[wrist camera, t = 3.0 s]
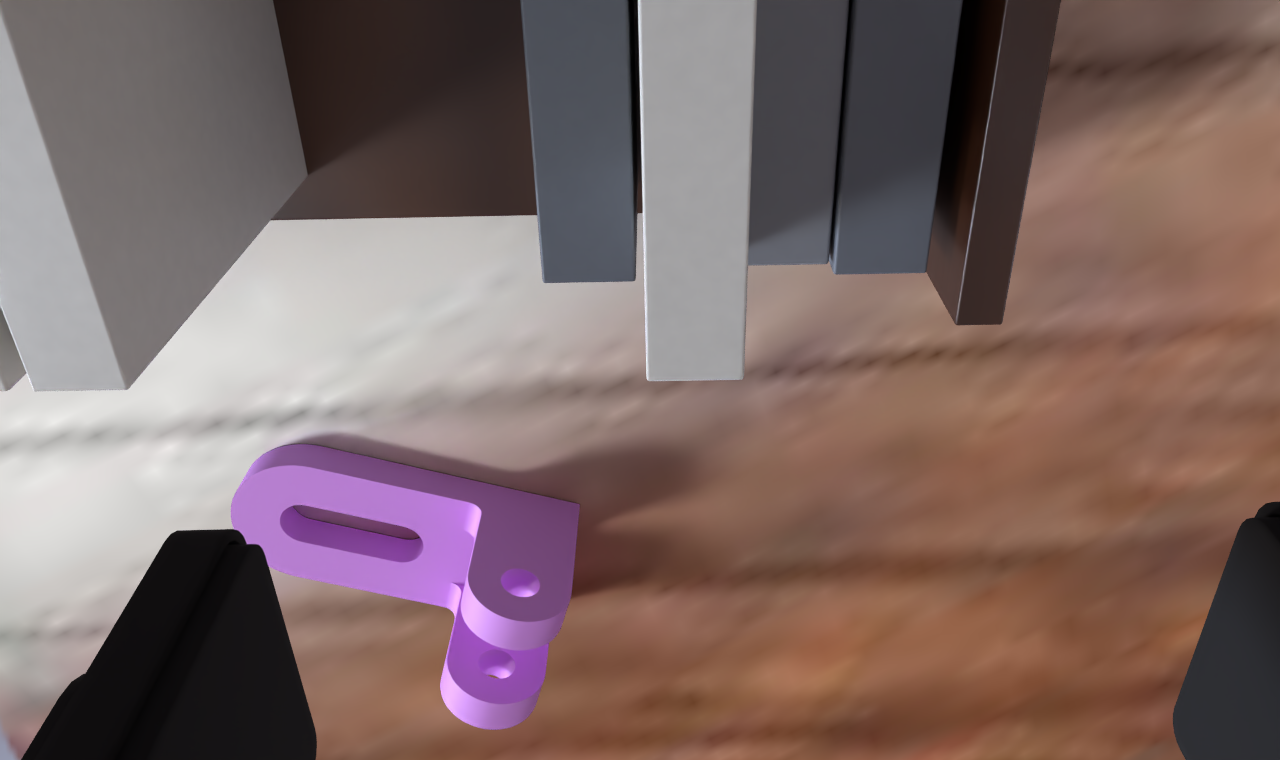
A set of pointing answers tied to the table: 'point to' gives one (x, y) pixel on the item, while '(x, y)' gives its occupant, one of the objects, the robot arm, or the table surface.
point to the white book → (696, 183)
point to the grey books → (753, 133)
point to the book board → (501, 136)
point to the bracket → (428, 560)
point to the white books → (131, 174)
